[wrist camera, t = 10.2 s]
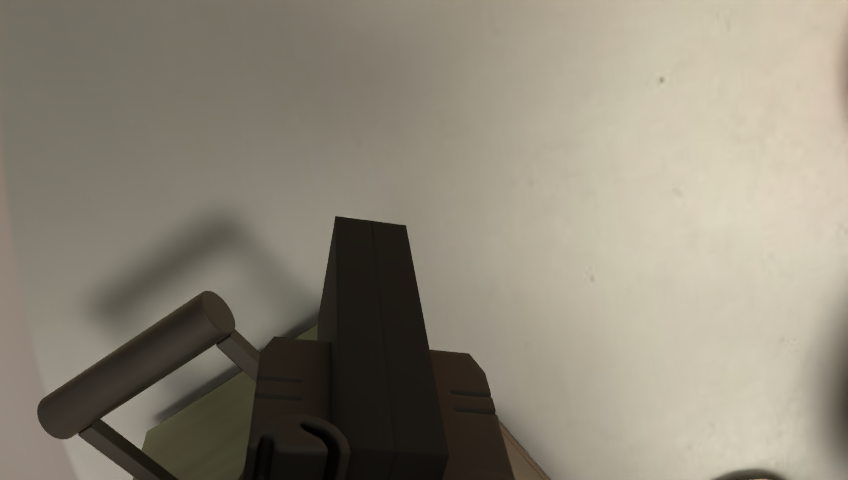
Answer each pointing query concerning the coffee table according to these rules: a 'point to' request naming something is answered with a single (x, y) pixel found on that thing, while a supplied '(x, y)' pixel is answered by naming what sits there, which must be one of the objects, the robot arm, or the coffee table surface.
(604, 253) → the coffee table surface
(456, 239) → the coffee table surface
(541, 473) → the cabinet
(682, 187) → the coffee table surface
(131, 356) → the drawer
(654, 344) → the coffee table surface
